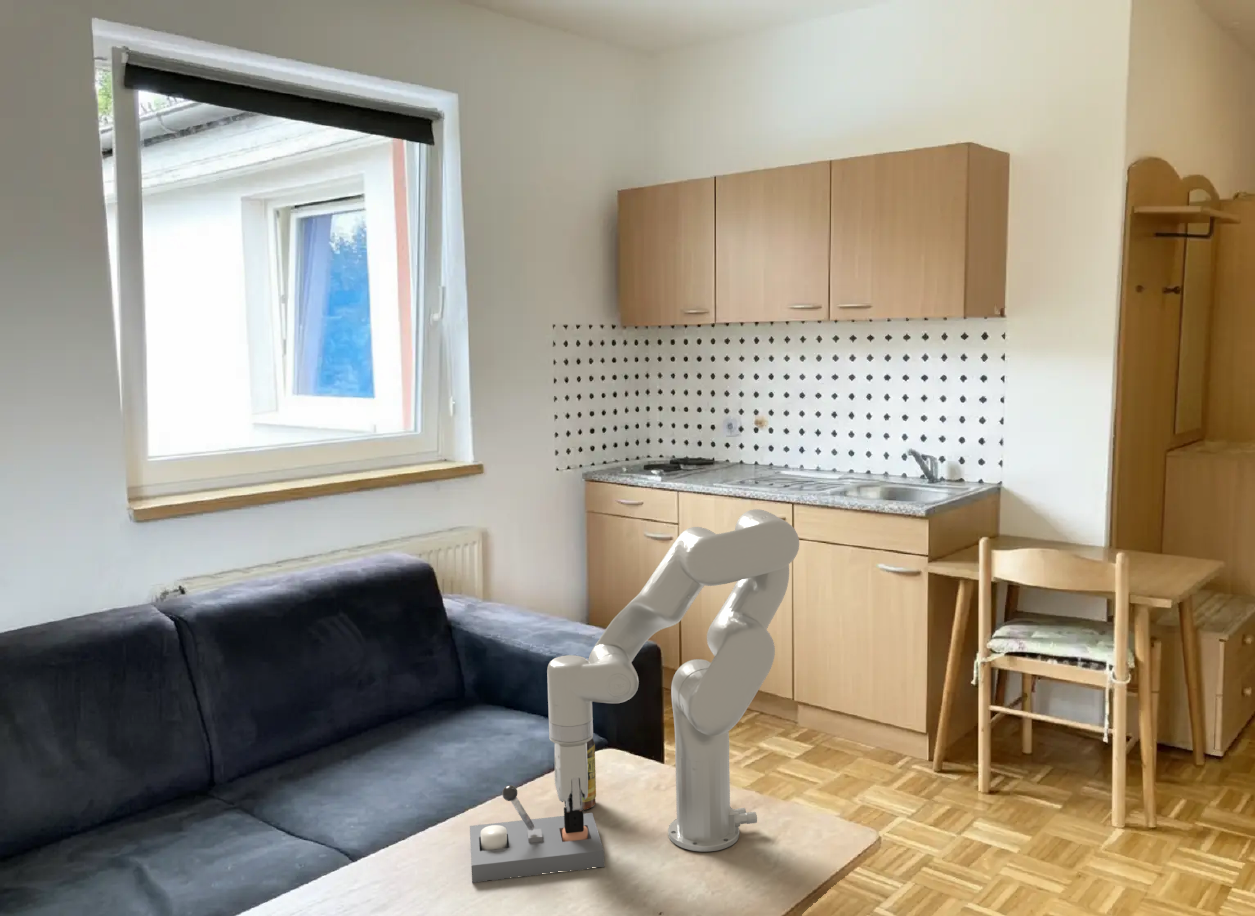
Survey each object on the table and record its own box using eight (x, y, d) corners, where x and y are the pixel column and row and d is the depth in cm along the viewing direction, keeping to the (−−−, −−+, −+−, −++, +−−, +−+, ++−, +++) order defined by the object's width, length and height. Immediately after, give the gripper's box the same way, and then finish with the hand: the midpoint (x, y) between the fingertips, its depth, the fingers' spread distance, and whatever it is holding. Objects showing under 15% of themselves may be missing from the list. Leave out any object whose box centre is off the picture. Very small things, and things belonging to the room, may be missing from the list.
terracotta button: (586, 841, 178) (585, 823, 177) (589, 854, 173) (589, 834, 173) (561, 844, 177) (561, 825, 176) (564, 857, 172) (563, 837, 172)
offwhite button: (506, 843, 175) (505, 823, 175) (508, 855, 171) (507, 835, 170) (481, 845, 174) (480, 826, 174) (481, 858, 170) (481, 838, 170)
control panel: (592, 828, 183) (592, 808, 182) (604, 867, 169) (603, 845, 168) (470, 841, 179) (469, 821, 178) (472, 882, 165) (471, 860, 165)
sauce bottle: (592, 813, 188) (588, 711, 186) (560, 811, 190) (556, 709, 187) (600, 798, 195) (596, 699, 192) (568, 796, 196) (565, 697, 194)
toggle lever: (538, 822, 175) (512, 779, 173) (540, 829, 172) (513, 786, 170) (525, 830, 174) (499, 787, 173) (526, 837, 172) (499, 794, 170)
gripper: (545, 715, 179) (548, 813, 181) (553, 747, 165) (557, 854, 167) (586, 711, 180) (589, 809, 183) (598, 743, 166) (601, 849, 168)
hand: (574, 830), depth 175 cm, fingers closed
